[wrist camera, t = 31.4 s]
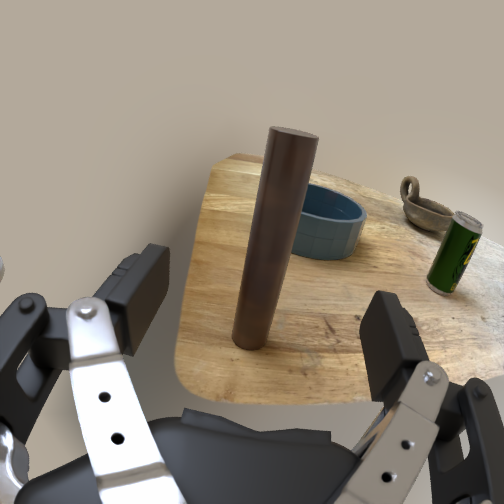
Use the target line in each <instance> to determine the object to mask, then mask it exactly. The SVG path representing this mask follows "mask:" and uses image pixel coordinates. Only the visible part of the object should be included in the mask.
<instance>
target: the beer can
mask: <svg viewBox="0 0 504 504" xmlns="http://www.w3.org/2000/svg"><path fill="white" fill-rule="evenodd" d="M482 228H483V224H481V222H479V221H478V220H476V219H475V218H473V217H471V216H470V215H468V214H466V213H463V212H460V211H456V214H455V215H454V216H453V217H452V219H451V222H450V224H449V227H448V229H447V232H446V234H445V236H444V239H443V241H442V243H441V246H440V248H439V250H438V252H437V255H436V257H435V259H434V261H433V263H432V266H431V268H430V270H429V272H428V274H427V280H426V283H427V285H428V286H429V287H430V288H431V289H432V290H433V291H434V292H436V293H438V294H440V295H443V296H449V295H451V294H452V293H453V292H454V290H455V288H456V287H457V285H458V283H459V281H460V279H461V277H462V275H463V273H464V271H465V269H466V267H467V265H468V263H469V261H470V259H471V257H472V255H473V252H474V250H475V248H476V246H477V244H478V241H479V239H480V237H481V235H482Z"/></svg>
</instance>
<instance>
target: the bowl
mask: <svg viewBox="0 0 504 504" xmlns="http://www.w3.org/2000/svg"><path fill="white" fill-rule="evenodd" d="M410 183H412V190H411V192H410V194H409V195H408V189H409V185H410ZM400 193H401V198H402V201H403V202H404V205H403V210H404V212H405V214H406V216H407V217H408V218H409V220H410V221H411V222H413V223H414V224H415V225H417V226H418V227H420V228H421V229H425V230H428V231H429V232H430V231H447V229H448V227H449V224H450V222H451V219H452V217H453V216H454V215H455V214H454V213H453V212H452V211H451V210H450V209H449V208H447V207H445V206H444V205H442V204H440V203H437V202H435V201H431V200H429V199H425V198H421V197H419V182H418V180H417V178H415V177H413V176H407V177H405V178H404V179H403V181H402V183H401V187H400Z"/></svg>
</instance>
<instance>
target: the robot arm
mask: <svg viewBox="0 0 504 504" xmlns="http://www.w3.org/2000/svg"><path fill="white" fill-rule="evenodd" d="M169 260H170V251H169V247H165V246H160V245H156V244H151V243H150V244H148V246H147V247H146V248H145V249H144V250H143V251H142V253H141V254H136V253H134V254H132V255H130V256H129V257H127V258H125V259H123V261H122V262H121V263H120V264H119V265H118V266H117V268H116V269H115V270H114V271H113V272H112V275H110V276H109V277H108V278H107V280H106V281H105V282H104V283H103V284H102V285H101V287H100V288H99V289H98V290H97V291H96V293H95V294H94V295H93V296H92V297H84V298H81V299H78V300H76V301H74V302H73V303H71V304H70V306H69V307H68V308H52V307H47V305H46V301H45V299H44V297H43V296H41V295H39V294H37V293H26V294H23V295H21V296H19V297H17V298H16V299H15V300H14V301H13V302H12V303H11V305H9V307H8V308H7V309H6V310H5V311H4V313H3V314H2V315H1V316H0V504H403V502H404V500H405V498H406V497H407V495H408V493H409V492H410V490H411V488H412V486H413V484H414V482H415V481H416V478H417V477H418V475H419V473H420V471H421V469H422V467H423V465H424V463H425V461H426V458H427V456H428V462H429V471H430V480H431V491H432V504H504V426H503V423H502V420H501V417H500V414H499V411H498V408H497V405H496V402H495V399H494V396H493V393H492V391H491V389H490V387H489V386H488V385H487V384H486V383H485V382H484V381H483V380H481V379H479V378H471V379H469V380H468V381H467V383H466V384H465V385H464V386H461V385H458V384H455V383H452V382H449V379H448V376H447V374H446V372H445V371H444V369H443V368H442V367H440V366H439V365H438V364H436V363H434V362H431V361H429V358H428V355H427V352H426V350H425V347H424V345H423V342H422V340H421V337H420V336H419V332H418V330H417V328H416V325H415V322H414V320H413V318H412V316H411V315H410V314H409V313H408V311H407V310H406V309H405V308H402V306H401V304H400V301H399V299H398V297H397V295H396V294H395V293H390V292H385V291H379V290H378V291H376V293H375V294H374V296H373V298H372V300H371V302H370V304H369V307H368V309H367V311H366V313H365V315H364V317H363V319H362V321H361V324H360V330H359V334H360V340H361V344H362V349H363V354H364V359H365V365H366V370H367V375H368V381H369V387H370V392H371V398H372V401H375V402H384V407H383V408H382V409H381V410H380V412H379V413H378V415H377V416H376V418H375V419H374V421H373V422H372V424H371V425H370V427H369V428H368V429H367V431H366V432H365V434H364V435H363V436H362V438H361V439H360V441H359V442H358V443H357V444H356V446H355V447H354V448H353V449H352V450H351V451H350V450H349V449H347V448H346V447H344V446H342V445H340V444H337V443H335V442H331V431H319V430H308V429H298V428H296V429H286V430H276V431H264V432H259V431H255V430H252V429H250V428H247V427H244V426H242V425H240V424H237V423H235V422H233V421H230V420H228V419H226V418H224V417H221V416H216V415H212V414H208V413H204V412H199V411H195V410H191V409H187V408H184V411H183V414H182V417H166V418H160V419H156V420H152V421H149V422H146V420H145V417H144V415H143V412H142V410H141V407H140V404H139V402H138V399H137V396H136V394H135V391H134V388H133V385H132V383H131V380H130V377H129V374H128V371H127V368H126V365H125V361H124V358H123V356H122V355H123V354H126V355H129V356H134V354H135V352H136V351H137V349H138V346H139V345H140V343H141V341H142V339H143V337H144V335H145V333H146V331H147V330H148V328H149V326H150V324H151V322H152V320H153V318H154V316H155V314H156V313H157V311H158V308H159V307H160V305H161V304H162V302H163V300H164V298H165V296H166V294H167V291H168V286H169V264H170V261H169ZM27 352H28V354H27ZM26 354H27V356H26V357H25V359H24V360H23V358H24V356H25V355H26ZM22 360H23V362H22V363H21V361H22ZM20 363H21V365H20V367H19V368H18V366H19V364H20ZM17 368H18V370H17ZM62 370H69V371H70V377H71V383H72V389H73V394H74V398H75V404H76V408H77V412H78V417H79V421H80V426H81V430H82V433H83V437H84V441H85V444H86V448H87V451H88V453H87V454H85V455H83V456H81V457H80V458H77V459H75V460H73V461H71V462H69V463H67V464H65V465H63V466H61V467H59V468H57V469H54V470H52V471H50V472H47V473H45V474H43V475H41V476H38V477H36V478H34V479H32V480H30V481H29V480H28V474H27V472H28V471H29V454H28V451H27V449H26V447H25V444H26V441H27V439H28V437H29V435H30V433H31V431H32V429H33V426H34V424H35V422H36V420H37V418H38V416H39V414H40V412H41V410H42V408H43V406H44V404H45V402H46V400H47V398H48V396H49V394H50V392H51V390H52V389H53V386H54V384H55V383H56V381H57V379H58V377H59V375H60V374H61V372H62ZM465 429H466V431H467V435H468V440H469V444H470V451H469V454H468V456H467V458H466V459H465V460H464V457H463V452H462V447H461V442H460V437H459V434H460V433H461V432H463V431H464V430H465Z"/></svg>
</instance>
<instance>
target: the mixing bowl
mask: <svg viewBox="0 0 504 504" xmlns="http://www.w3.org/2000/svg"><path fill="white" fill-rule="evenodd" d="M366 218H367V214H366V210H365V209H364V208H363V207H362V206H361V205H360V204H359V203H357V202H356V201H354V200H353V199H352V198H350V197H348V196H346V195H344V194H342V193H339V192H337V191H334V190H332V189H329V188H326V187H323V186H319V185H316V184H311V183H308V188H307V192H306V196H305V200H304V204H303V208H302V212H301V216H300V220H299V224H298V228H297V232H296V236H295V239H294V243H293V247H292V251H291V253H294V254H297V255H300V256H304V257H308V258H313V259H320V260H338V259H343V258H346V257H348V256H350V255H352V254H353V252H354V251H355V248H356V247H357V244H358V242H359V239H360V236H361V233H362V230H363V227H364V224H365V221H366Z"/></svg>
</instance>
